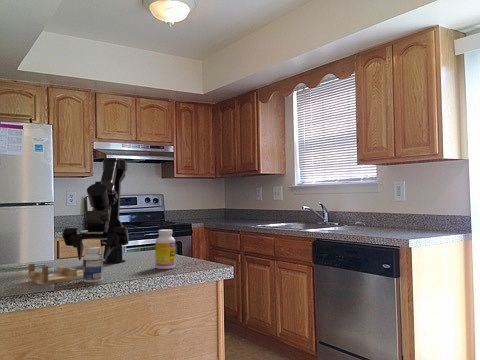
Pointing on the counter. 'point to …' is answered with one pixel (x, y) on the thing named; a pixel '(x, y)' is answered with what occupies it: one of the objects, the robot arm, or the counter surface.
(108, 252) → the robot arm
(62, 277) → the rack
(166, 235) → the supplement bottle
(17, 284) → the counter surface
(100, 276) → the pill bottle
